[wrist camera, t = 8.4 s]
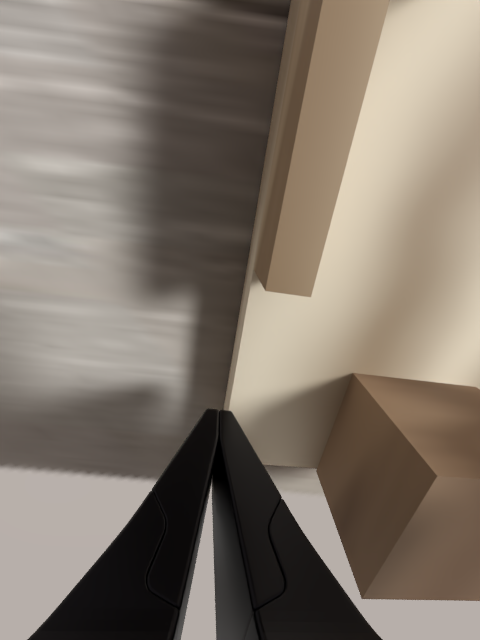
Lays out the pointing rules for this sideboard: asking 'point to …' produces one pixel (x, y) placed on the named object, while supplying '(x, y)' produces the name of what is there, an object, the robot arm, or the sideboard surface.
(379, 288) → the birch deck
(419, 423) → the walnut block
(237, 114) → the sideboard surface
